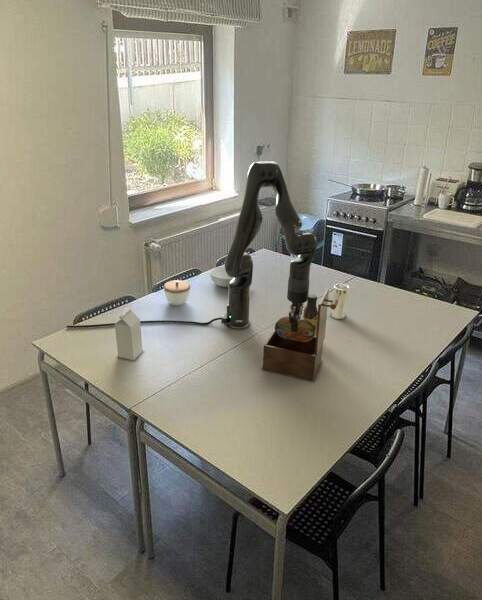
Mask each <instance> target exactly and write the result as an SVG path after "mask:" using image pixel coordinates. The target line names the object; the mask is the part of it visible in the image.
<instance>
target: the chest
mask: <svg viewBox="0 0 482 600" xmlns="http://www.w3.org/2000/svg"><path fill="white" fill-rule="evenodd" d="M272 330H273V331H272V332H271V334H270V335H269V336H268V339H267V340H266V341H265V343H264V344H263V353H262V355H263V356H262V370H263V371H267V372H272V373H276V374H280V375H284V376H289V377H293V378H297V379H302V380H307V381H311V382H314V380H315V378H316V375H317V374H318V373H317V372H318V371H319V368H320V366H321V363H322V359H323V358H322V356H323V349H324V342H323V343H322V345H321V347H320V349H319V352H318V354H317V356H316V355H315V344H316V336H314V337H313V339H312V340H311V341H309V342H299V341H294V340H289V339H284V338H281V337H280V336H279V335H278V334H277V333H276V331H275V328H274V329H272Z"/></svg>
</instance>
